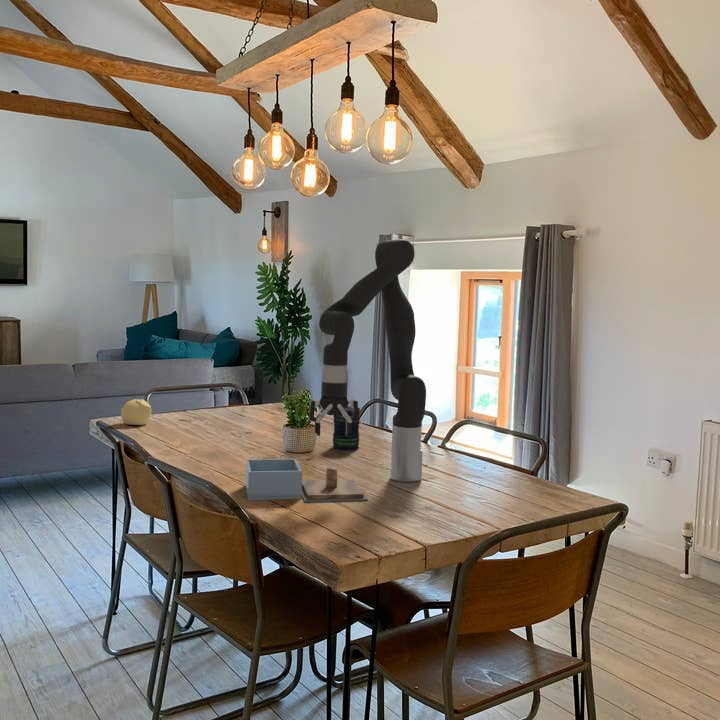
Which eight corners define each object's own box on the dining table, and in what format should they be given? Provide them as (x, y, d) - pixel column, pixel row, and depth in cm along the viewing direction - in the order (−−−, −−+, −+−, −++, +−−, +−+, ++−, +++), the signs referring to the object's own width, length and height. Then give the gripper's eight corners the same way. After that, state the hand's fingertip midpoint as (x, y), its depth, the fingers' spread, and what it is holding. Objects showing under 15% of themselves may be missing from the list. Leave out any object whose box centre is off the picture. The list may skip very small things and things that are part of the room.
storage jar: (358, 451, 281) (360, 411, 280) (331, 450, 282) (332, 410, 280) (359, 445, 291) (360, 406, 290) (333, 444, 292) (334, 405, 290)
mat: (355, 483, 237) (355, 482, 237) (367, 500, 219) (367, 499, 219) (297, 485, 233) (297, 483, 233) (304, 502, 215) (304, 500, 215)
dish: (295, 484, 233) (296, 458, 233) (301, 498, 219) (302, 471, 218) (245, 485, 230) (245, 459, 230) (248, 500, 216) (248, 472, 215)
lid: (353, 483, 235) (353, 461, 235) (363, 498, 220) (364, 475, 219) (300, 484, 232) (301, 462, 232) (307, 499, 217) (308, 476, 216)
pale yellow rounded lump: (154, 426, 316) (154, 400, 315) (125, 428, 310) (125, 401, 309) (147, 421, 326) (147, 395, 324) (118, 423, 320) (118, 397, 318)
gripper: (356, 378, 228) (354, 432, 229) (308, 378, 225) (306, 432, 227) (361, 382, 220) (359, 437, 222) (311, 381, 218) (310, 438, 219)
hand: (332, 435), depth 224 cm, fingers open, 8 cm apart
